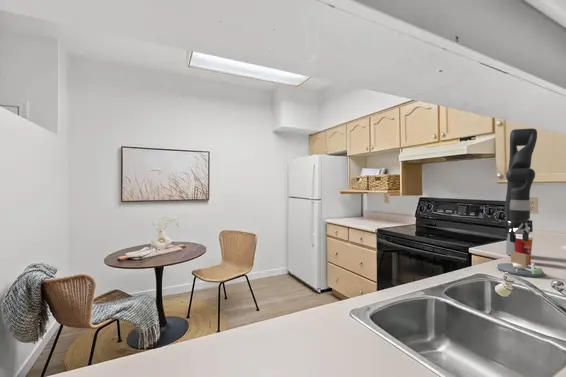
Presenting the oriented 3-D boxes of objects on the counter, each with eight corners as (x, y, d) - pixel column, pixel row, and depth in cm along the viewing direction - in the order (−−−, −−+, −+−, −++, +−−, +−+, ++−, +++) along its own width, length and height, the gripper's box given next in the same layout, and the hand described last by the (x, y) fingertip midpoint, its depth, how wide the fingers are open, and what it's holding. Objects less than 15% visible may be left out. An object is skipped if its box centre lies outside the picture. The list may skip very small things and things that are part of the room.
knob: (508, 265, 135) (508, 251, 134) (516, 265, 135) (516, 251, 135) (529, 272, 125) (529, 257, 124) (538, 271, 125) (538, 256, 125)
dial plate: (501, 264, 143) (501, 257, 143) (545, 271, 131) (545, 264, 130) (493, 271, 132) (493, 264, 132) (541, 280, 120) (541, 272, 119)
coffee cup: (528, 265, 140) (529, 237, 140) (509, 261, 148) (510, 234, 147) (536, 263, 144) (536, 235, 144) (517, 259, 151) (517, 233, 151)
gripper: (517, 210, 125) (517, 244, 126) (539, 209, 129) (538, 242, 130) (500, 208, 133) (500, 241, 133) (521, 207, 136) (521, 238, 137)
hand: (519, 241), depth 131 cm, fingers open, 8 cm apart
